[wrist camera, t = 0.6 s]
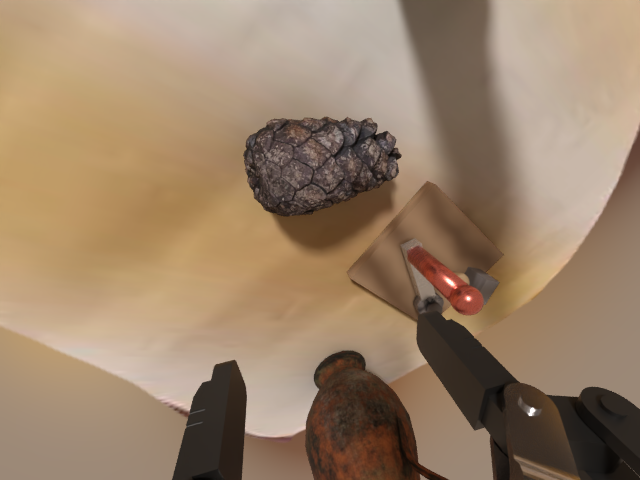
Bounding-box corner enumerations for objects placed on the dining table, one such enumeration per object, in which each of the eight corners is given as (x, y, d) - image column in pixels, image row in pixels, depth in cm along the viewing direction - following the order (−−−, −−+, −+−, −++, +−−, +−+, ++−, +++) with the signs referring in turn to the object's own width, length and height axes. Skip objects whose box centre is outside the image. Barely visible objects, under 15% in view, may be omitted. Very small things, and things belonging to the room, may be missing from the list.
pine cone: (387, 177, 35) (428, 196, 26) (263, 211, 34) (261, 243, 25) (380, 93, 30) (427, 81, 22) (234, 128, 29) (220, 131, 20)
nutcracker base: (427, 181, 36) (454, 191, 31) (495, 249, 44) (526, 267, 39) (346, 271, 40) (359, 294, 35) (422, 319, 48) (441, 344, 43)
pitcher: (280, 387, 49) (297, 706, 22) (346, 309, 44) (472, 602, 17) (345, 405, 55) (418, 669, 29) (409, 339, 50) (571, 586, 24)
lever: (440, 305, 44) (505, 375, 32) (417, 316, 44) (473, 390, 32) (420, 234, 37) (495, 289, 25) (394, 247, 37) (455, 308, 25)
